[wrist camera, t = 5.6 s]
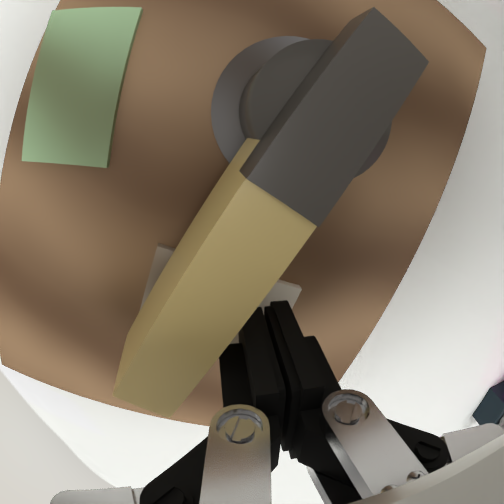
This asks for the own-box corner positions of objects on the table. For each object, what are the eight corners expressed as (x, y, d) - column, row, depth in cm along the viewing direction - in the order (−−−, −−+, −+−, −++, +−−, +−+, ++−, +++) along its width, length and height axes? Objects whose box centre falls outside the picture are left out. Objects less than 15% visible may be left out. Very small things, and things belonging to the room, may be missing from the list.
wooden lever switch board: (152, -92, 6) (147, -120, 4) (459, 51, 11) (490, 47, 8) (16, 341, 13) (-1, 368, 10) (289, 409, 17) (299, 438, 15)
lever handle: (293, 24, 8) (341, -20, 4) (378, 93, 9) (451, 88, 6) (108, 314, 10) (82, 384, 7) (194, 355, 12) (197, 429, 8)
